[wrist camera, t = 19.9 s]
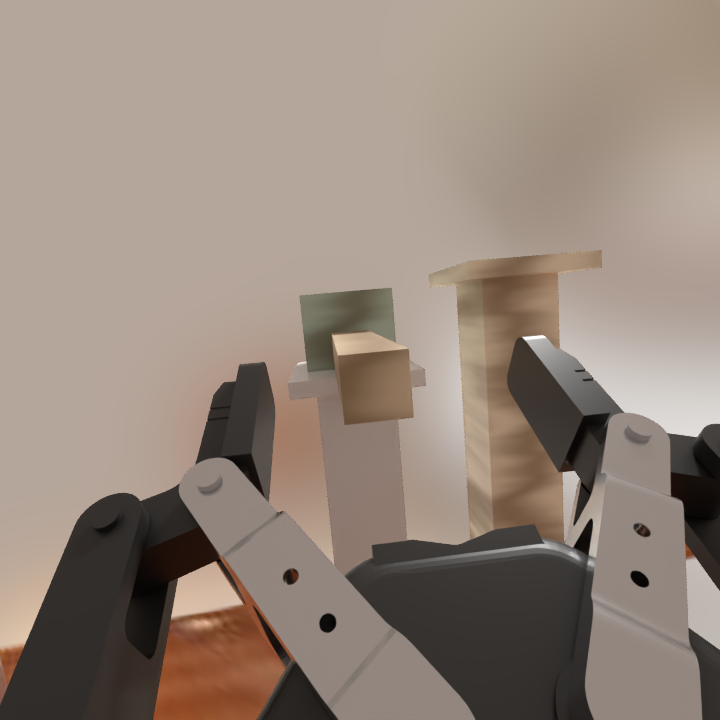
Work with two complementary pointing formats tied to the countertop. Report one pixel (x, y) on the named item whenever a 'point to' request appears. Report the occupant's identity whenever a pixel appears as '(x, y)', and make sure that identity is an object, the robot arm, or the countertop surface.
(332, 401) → the white pedestal stand
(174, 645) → the countertop surface
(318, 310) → the mallet
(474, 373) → the beige wooden post
